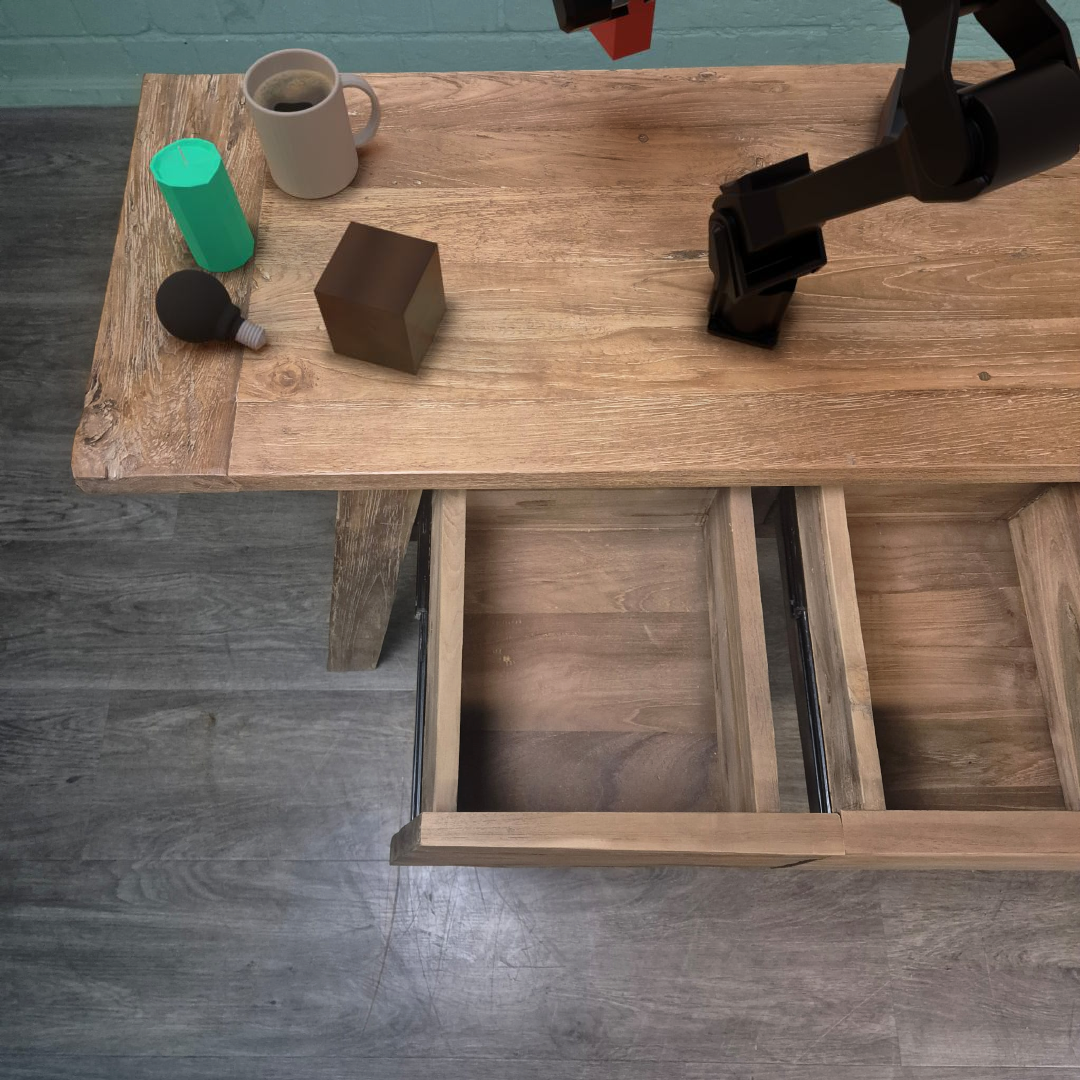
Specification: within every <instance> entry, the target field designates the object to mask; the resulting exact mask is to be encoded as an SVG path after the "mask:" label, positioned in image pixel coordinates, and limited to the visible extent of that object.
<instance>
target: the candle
mask: <svg viewBox="0 0 1080 1080" xmlns="http://www.w3.org/2000/svg"><path fill="white" fill-rule="evenodd" d="M148 167H149V169H150V171H151V173H152V176H153V177H154V179H155V182H156V183H157V186H158V187H159V190H160V192H161V194H162V195H163V198H164V200H165V201H166V204H167V206H168V208H169V210H170V212H171V214H172V216H173V218H174V220H175V222H176V224H177V226H178V228H179V230H180V233H181V234H182V236H183V238H184V240H185V242H186V244H187V246H188V248H189V251H190V252H191V255H192V256H193V259H194V260H195V261H196V263H197V265H198V266H199V267H200V268H203V269H204V270H207V271H209V272H211V273H229V272H232V271H233V270H236V269H239V268H240V267H243V266H244V265H245V264H246V263H247V262H248V261H249V259H251V257H252V256H253V255H254V250H255V242H256V241H255V239H254V237H253V234H252V231H251V228H250V226H249V224H248V221H247V218H246V217H245V216H246V215H245V213H244V211H243V209H242V206H241V204H240V201H239V198H238V196H237V194H236V191H235V189H234V188H235V187H234V186H233V184H232V181H231V178H230V176H229V173H228V171H227V168H226V165H225V162H224V161H223V159H222V156H221V155H220V152H219V151H218V149H217V147H216V145H215V144H214V143H213V142H210V141H208V140H205V139H204V138H200V137H196V138H195V137H193V138H192V137H190V138H189V137H187V138H186V137H185V138H181V139H180V138H179V139H178V140H175V141H174V142H172V143H169V144H167V145H165V146H164V147H162V148H161V149H160V150H159V151H158V152H156V153H155V154H154V155H153V156H152V158H151V162H150V164H149V166H148Z"/></svg>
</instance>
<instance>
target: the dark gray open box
mask: <svg viewBox="0 0 1080 1080" xmlns="http://www.w3.org/2000/svg"><path fill="white" fill-rule="evenodd" d="M904 70H905V67H898V69H897V72H896V74H895V76H894V79H893V81H892V83H891V86H890V88H889V91H888V93H887V95H886V97H885V99H884V102H883V105H882V109H881V113H880V118H879V123H878V127H877V131H876V136H875V139H874V143H873V148H874V147H876V146H879V145H881V144H884V143H886V142H889V141H891V140H893V139H895V138H896V137H898V136H899V135H900V133H901V131H902V129H903V127H904V125H905V123H906V122H907V119H906V116H905V113H904V109H903V106H902V103H901V90H902V83H903V77H904ZM953 80H954V83H955V87H956V90H960V89H963V88H965V87H968V86H971V85H974V84H975V83H973V82H967V81H963V80H959V79H954V78H953Z"/></svg>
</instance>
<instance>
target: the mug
mask: <svg viewBox="0 0 1080 1080" xmlns="http://www.w3.org/2000/svg"><path fill="white" fill-rule="evenodd" d="M347 88H354V89H358V90H359V91H360V90H361V91H362V92H364V93H365V95H367V96H368V97H369V100H370V105H371V110H370V116H369V119H368V122H367V123H366V125H365V126H364V128H362V129H361V130H360V131H359V132H357V133H355V134H353V130H352V125H351V120H350V117H349V112H348V108H347V103H346V102H347V101H346V99H345V98H346V97H345V94H344V89H347ZM242 90H243V96H244V98H245V100H246V104H247V107H248V110H249V112H250V117H251V118H252V122H253V125H254V127H255V130H256V133H257V136H258V140H259V142H260V144H261V145H260V146H261V148H262V151H263V154H264V158H265V160H266V163H267V166H268V169H269V172H270V175H271V178H272V181H273V182H274V183H275V184H276V186H277V187H278V188H279V189H280V190H281V191H283V192H284V193H286V194H288V195H290V196H293V197H296V198H299V199H305V200H314V199H321V198H322V199H323V198H327V197H330V196H333V195H335V194H337V193H339V192H341V191H342V190H344V189H345V188H346V187H348V186H349V185H350V184H351V183H352V181H353V180H354V178H355V177H356V175H357V172H358V169H359V158H358V153H357V149H359V148H361V147H363V146H365V145H367V144H368V143H369V142H371V140H373V138H374V137H375V135H376V134H377V132H378V130H379V127H380V124H381V120H382V118H381V117H382V111H381V105H380V101H379V98H378V96H377V95H376V93H375V91H374V89H373V88H372V85H371V84H370V83H369V81H367V80H366V79H365V78H363V77H362V76H360V75H359V74H356V73H351V72H343V73H340V71H339V69H338V67H337V66H336V64H335V63H334V62H333V61H332V60H331V58H329V57H327V56H326V55H324V54H323V53H321V52H318V51H315V50H311V49H307V48H286V49H280V50H276V51H273V52H270V53H268V54H265V55H264V56H262V57H260V58H259V59H257V60H255V62H254V63H252V65H250V67H249V68H248V69H247V71H246V73H245V75H244V77H243V81H242Z"/></svg>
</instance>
